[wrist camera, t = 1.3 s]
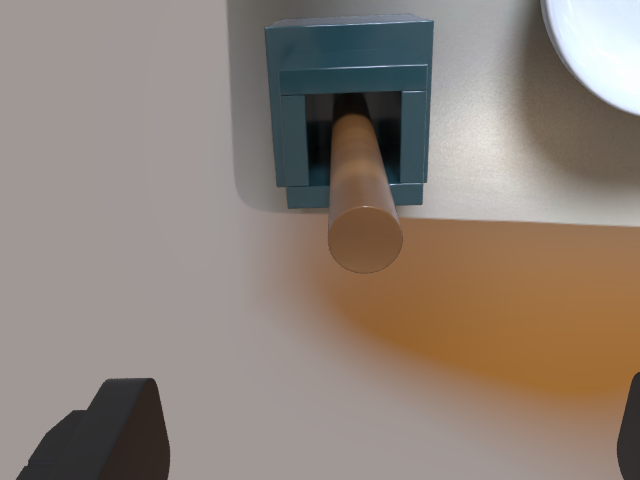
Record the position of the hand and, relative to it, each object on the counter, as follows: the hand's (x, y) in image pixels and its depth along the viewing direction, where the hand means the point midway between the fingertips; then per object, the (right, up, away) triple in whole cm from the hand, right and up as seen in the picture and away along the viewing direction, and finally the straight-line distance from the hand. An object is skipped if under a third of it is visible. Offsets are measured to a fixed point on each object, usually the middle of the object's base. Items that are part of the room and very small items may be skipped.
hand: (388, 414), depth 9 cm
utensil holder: (+1, +16, +35) cm, 38 cm away
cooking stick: (+1, +11, +25) cm, 27 cm away
